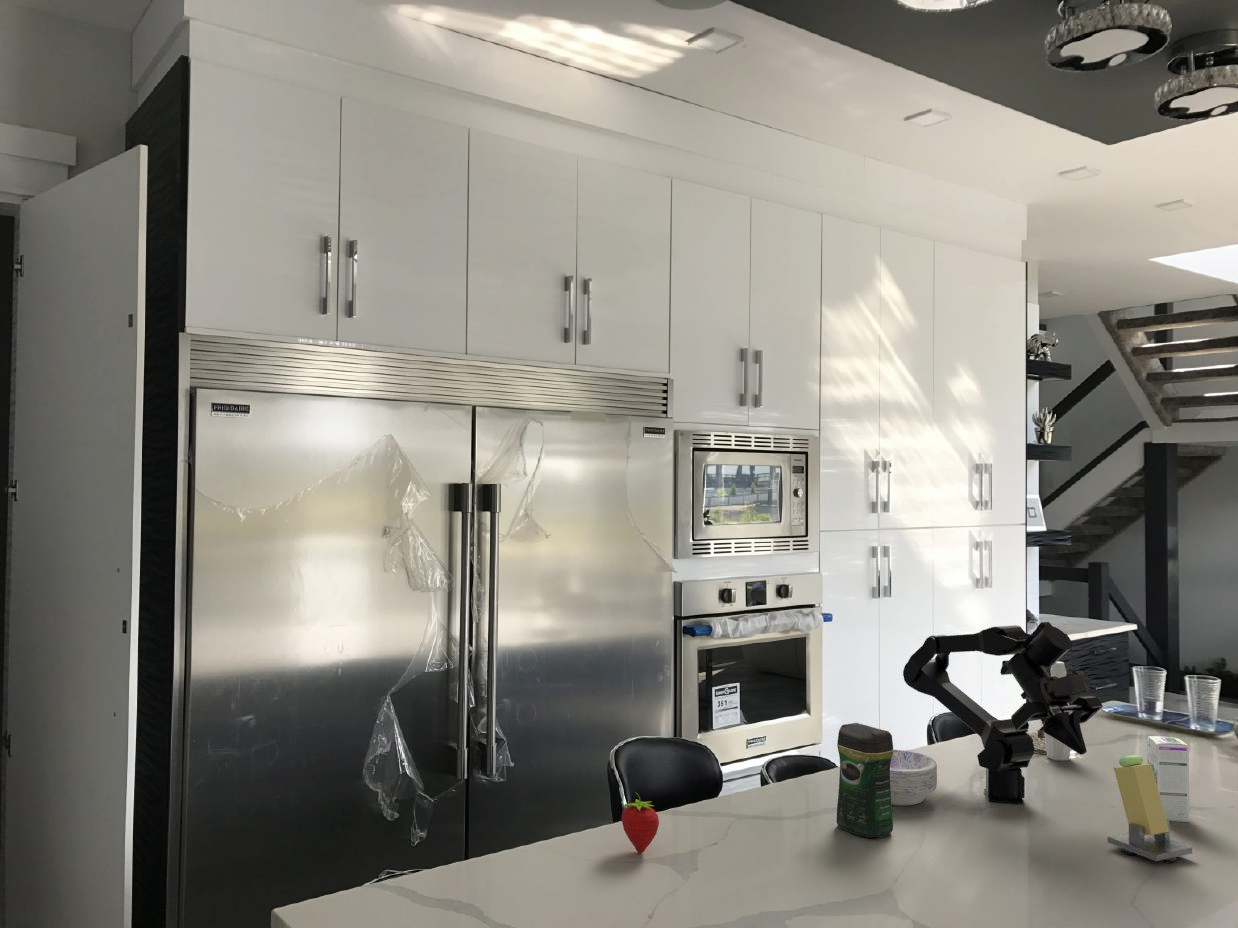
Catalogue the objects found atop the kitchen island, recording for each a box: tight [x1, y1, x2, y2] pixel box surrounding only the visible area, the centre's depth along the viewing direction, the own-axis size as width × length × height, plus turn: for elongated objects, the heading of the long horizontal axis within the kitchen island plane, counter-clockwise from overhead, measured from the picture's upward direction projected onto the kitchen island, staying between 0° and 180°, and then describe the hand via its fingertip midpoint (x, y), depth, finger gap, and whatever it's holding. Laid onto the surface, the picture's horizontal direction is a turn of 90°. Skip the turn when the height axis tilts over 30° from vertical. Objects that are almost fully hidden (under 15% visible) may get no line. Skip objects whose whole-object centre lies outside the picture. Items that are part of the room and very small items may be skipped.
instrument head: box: [1113, 754, 1169, 835], centre depth 164 cm, size 4×4×13 cm
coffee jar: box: [836, 722, 894, 838], centre depth 171 cm, size 10×8×19 cm
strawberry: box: [621, 792, 660, 854], centre depth 158 cm, size 6×8×10 cm
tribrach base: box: [1107, 821, 1193, 865], centre depth 162 cm, size 9×9×5 cm
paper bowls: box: [890, 748, 938, 807], centre depth 189 cm, size 15×15×8 cm
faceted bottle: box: [1044, 661, 1071, 762], centre depth 221 cm, size 6×6×22 cm
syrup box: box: [1147, 735, 1191, 823], centre depth 182 cm, size 6×6×14 cm
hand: (1083, 753), depth 174 cm, fingers closed
